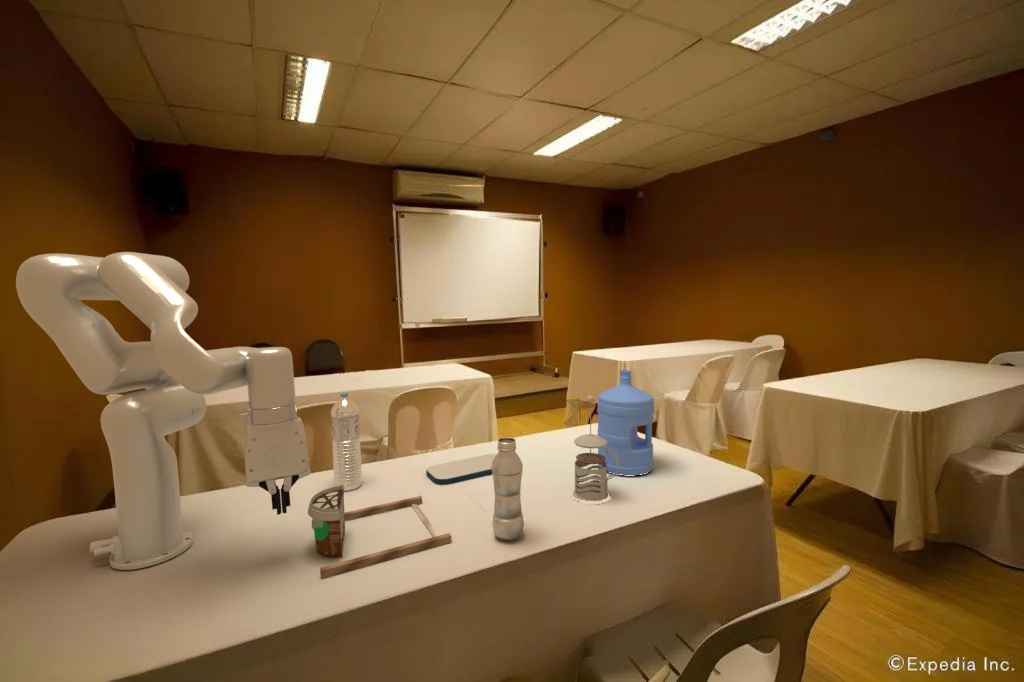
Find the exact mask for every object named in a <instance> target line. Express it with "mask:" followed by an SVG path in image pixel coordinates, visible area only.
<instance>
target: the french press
mask: <svg viewBox="0 0 1024 682" xmlns="http://www.w3.org/2000/svg"><path fill="white" fill-rule="evenodd" d="M586 401H587V402H589V411H590V412H589V414H590V415H589V417H590V418H589V419H590V420H589V421H590V422H589V423H590V424H589V431H590V433H589V434H588V433H587V434H582V435H580V436H578V437H576V438H575V439H574V440H573V443H574V445H575V446H577V447H580V448H583V449H589V451H590V452H583V453H579V454H577V455H576V456H575V459H576V461H574V490H573V491H572V492H573V496H574V497H575V498H577V499H580V500H585V501H594V502H595V501H601V500H603V499H606V498H607V497H608V493H609V492H608V487H609V486H608V482H609V481H608V480H612V479H613V478H614V477H615V476H617V475H616V473H617V471H618V468H619V459H618V456H617V454H616V453H615V452H614V451H613V450H612V449H610V448H607V449H606V455H607V453H608V451H609V450H608V449H610V450H612V451H613V452H614V453H615V454H616V456H617V458H616V456H615V455H614V454H613V453H612V452H611V451H609V452H611V453H612V454H613V455H614V456H615V458H616V461H617V470H616V472H615V473H614V474H615V475H614V474H611V475H607V473H608V472H607V464H606V463H605V462H604V461H605V460H606V459H605V457H604V456H603V455H600V454H598V453H595V452H592V449H593V450H594V449H598V448H601V447H605V446H606V445H607V440H605V439H603V438H602V437H600V436H598V434H594V433H593V434H592V402H595V397H594V396H593V395H587V397H586ZM617 459H618V460H617ZM598 464H600V465H602V466H603V467H604V468H601V467H599V466H598ZM589 465H591V466H589ZM587 466H589V467H587ZM584 467H587V468H584ZM589 480H590V481H589ZM587 481H588V482H587Z"/></svg>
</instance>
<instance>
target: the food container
mask: <svg viewBox="0 0 1024 682" xmlns="http://www.w3.org/2000/svg"><path fill="white" fill-rule="evenodd" d="M344 513H345V491H344V487H343V485H340V486H335V485H334V486H332V487H328V488H325V489H323V490H321V491H318V492H317V493H316V494H314V495H313V496H312V497H311V499H310V501H309V504H308V508H307V514H308V516H309V517H310V518H311V521H312V520H313V527H314V528H313V532H314V533H313V534H314V540H315V541H314V542H315V547H316V548H315V549H316V554H318V555H319V556H320V557H323V558H328V559H336V558H343V554H344V548H345V547H344V545H345V538H346V537H345V536H346V521H345V514H344Z"/></svg>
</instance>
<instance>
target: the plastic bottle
mask: <svg viewBox="0 0 1024 682" xmlns="http://www.w3.org/2000/svg"><path fill="white" fill-rule="evenodd" d="M516 442H517V441H516V439H515V437H514V438H513V437H501V438H499V439H497V451H498V452H497V453H496V454H497V455H496V456H495V458H494V460H493V462H492V466H491V467H492V474H491V476H492V480H493V487H494V489H493V490H494V505H493V506H494V508H493V509H494V510H493V515H492V525H491V526H492V530H493V533H494V535H495V536H496V537H497V538H498V539H501V541H502V540H503V541H513V540H516V539H518V538H520V536H521V535H523V532H524V526H525V520H524V515H523V511H522V503H521V499H522V498H521V489H522V488H521V486H522V485H521V484H522V476H523V467H524V466H523V462H522V459H521V458H520V457H519V454H517V452H516V450H517V445H516V444H517V443H516Z"/></svg>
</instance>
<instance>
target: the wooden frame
mask: <svg viewBox="0 0 1024 682" xmlns="http://www.w3.org/2000/svg"><path fill="white" fill-rule="evenodd" d="M422 504H423V497H422V496H421V495H419V496H414V497H411V498H404V499H402V500H401V499H400V500H397V501H391V502H386V503H382V504H379V505H378V504H377V505H374V506H373V505H372V506H369V507H364V508H360V509H355V510H351V511H346V512H344V514H345V522H347V521H352V520H356V519H361V518H365V517H370V516H374V515H378V514H382V513H388V512H390V511H394V510H400V509H405V508H409V507H411V508H412V509H413V510H414V512H415V513H416V515H417V516H418V518H419V519H420V520H421V523H422V524H424V526H425V528H426V529H427V531H428V532H429V533H430V535H431V536H432V537H428V538H426V539H422V540H418V541H414V542H411V543H406V544H403V545H400V546H395V547H392V548H388V549H385V550H382V551H381V550H379V551H378V552H373V553H369V554H366V555H363V556H358V557H354V558H351V559H348V560H344V561H340V562H337V563H332V564H329V565H325V566H321V567H320V568H319V569H320V570H319V574H320V578H321V580H323V579H325V578H330V577H333V576H336V575H340V574H344V573H346V572H351V571H355V570H358V569H362V568H365V567H369V566H372V565H376V564H380V563H383V562H386V561H390V560H394V559H397V558H400V557H404V556H408V555H412V554H414V553H418V552H422V550H423V551H426V550H429V549H432V548H437V547H440V546H443V545H447V544H450V543H452V535H451V533H450V532H448V533H444V534H439V533H438V532H437V529H436V528H435V527H434V526H433V524H432V523H431V522H430V521H429V518H427V516H426V514H425V513H424V512H423V510H421V508H420V507H419V505H422ZM311 527H312V529H314V527H313V520H312V519H311Z"/></svg>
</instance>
